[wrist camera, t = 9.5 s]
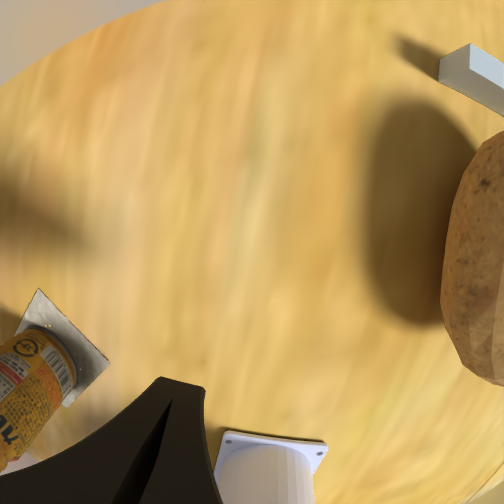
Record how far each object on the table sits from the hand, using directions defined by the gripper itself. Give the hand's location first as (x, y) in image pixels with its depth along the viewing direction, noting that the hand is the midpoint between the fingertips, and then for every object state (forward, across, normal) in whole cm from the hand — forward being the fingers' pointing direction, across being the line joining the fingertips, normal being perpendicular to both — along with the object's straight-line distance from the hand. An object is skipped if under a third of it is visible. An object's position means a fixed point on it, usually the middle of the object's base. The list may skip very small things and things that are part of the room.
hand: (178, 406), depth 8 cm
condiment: (+10, +12, +9) cm, 18 cm away
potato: (+10, -15, -6) cm, 19 cm away
